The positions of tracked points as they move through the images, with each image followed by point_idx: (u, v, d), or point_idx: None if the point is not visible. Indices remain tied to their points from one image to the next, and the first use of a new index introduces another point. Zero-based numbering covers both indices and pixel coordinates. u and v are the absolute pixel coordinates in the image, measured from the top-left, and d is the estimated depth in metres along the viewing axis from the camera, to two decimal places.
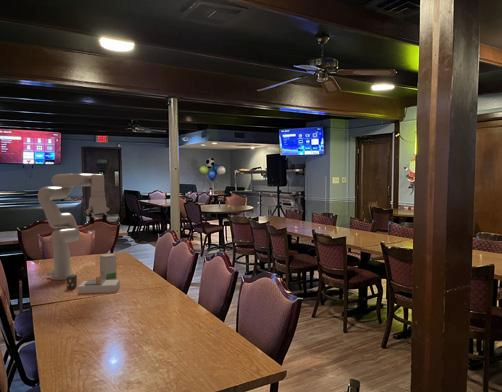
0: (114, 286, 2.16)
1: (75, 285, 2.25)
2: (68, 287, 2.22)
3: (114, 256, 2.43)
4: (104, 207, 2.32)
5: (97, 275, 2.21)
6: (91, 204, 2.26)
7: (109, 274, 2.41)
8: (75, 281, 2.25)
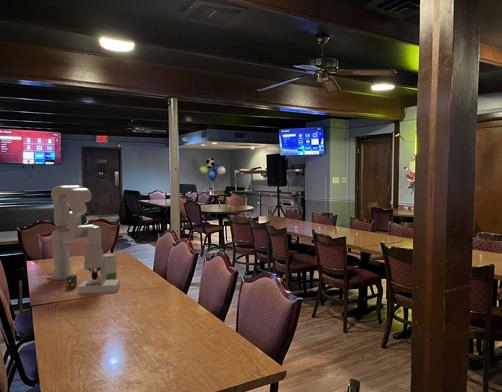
0: (114, 286, 2.16)
1: (75, 285, 2.25)
2: (68, 287, 2.22)
3: (114, 256, 2.43)
4: None
5: (98, 275, 2.21)
6: (103, 256, 2.21)
7: (109, 274, 2.41)
8: (75, 281, 2.25)
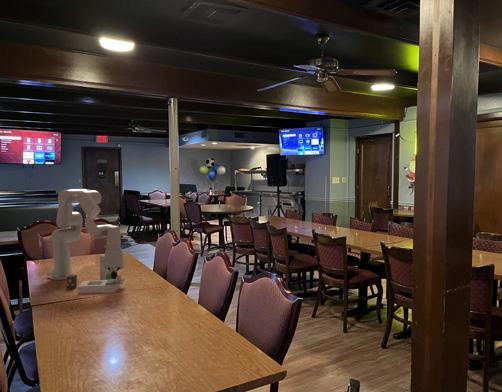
0: (114, 286, 2.16)
1: (75, 285, 2.25)
2: (68, 287, 2.22)
3: None
4: None
5: None
6: (122, 256, 2.22)
7: (109, 274, 2.41)
8: (75, 281, 2.25)
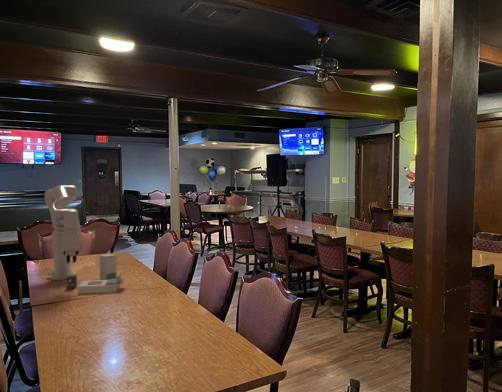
0: (114, 286, 2.16)
1: (75, 285, 2.25)
2: (68, 287, 2.22)
3: (114, 256, 2.43)
4: None
5: None
6: (80, 240, 2.24)
7: (109, 274, 2.41)
8: (75, 281, 2.25)
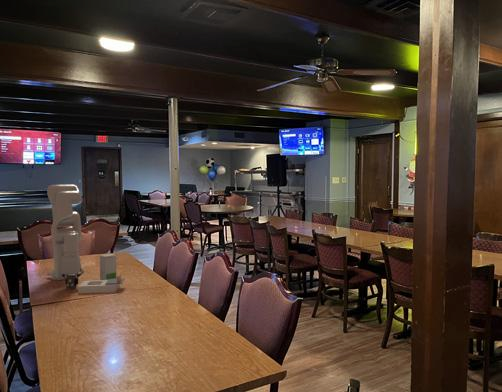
0: (114, 286, 2.16)
1: (75, 285, 2.25)
2: (68, 287, 2.22)
3: (114, 256, 2.43)
4: None
5: None
6: (80, 263, 2.25)
7: (109, 274, 2.41)
8: None
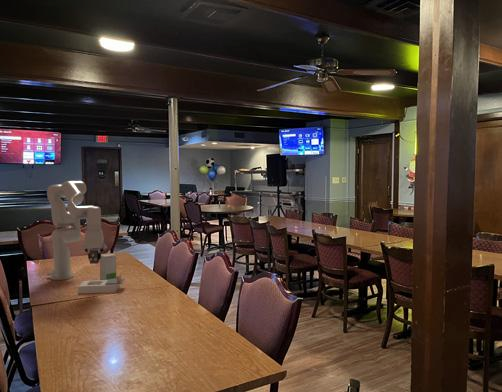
0: (114, 286, 2.16)
1: (98, 260, 2.21)
2: (91, 262, 2.18)
3: (114, 256, 2.43)
4: None
5: None
6: (103, 237, 2.21)
7: (109, 274, 2.41)
8: None
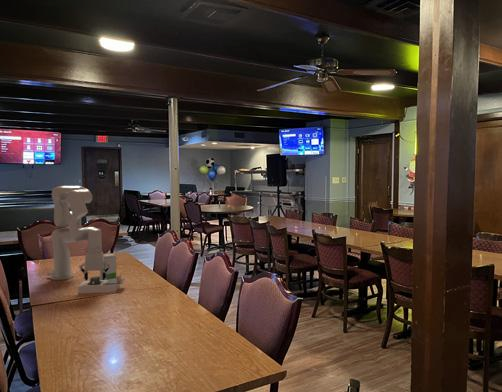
0: (114, 286, 2.16)
1: None
2: None
3: (114, 256, 2.43)
4: None
5: None
6: (103, 259, 2.21)
7: (109, 274, 2.41)
8: (98, 283, 2.22)
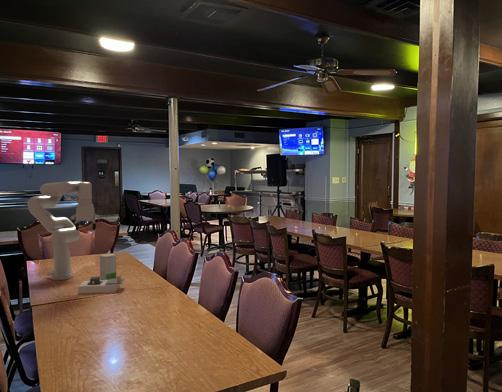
0: (114, 286, 2.16)
1: None
2: None
3: (114, 256, 2.43)
4: None
5: None
6: (93, 211, 2.37)
7: (109, 274, 2.41)
8: (98, 283, 2.22)
